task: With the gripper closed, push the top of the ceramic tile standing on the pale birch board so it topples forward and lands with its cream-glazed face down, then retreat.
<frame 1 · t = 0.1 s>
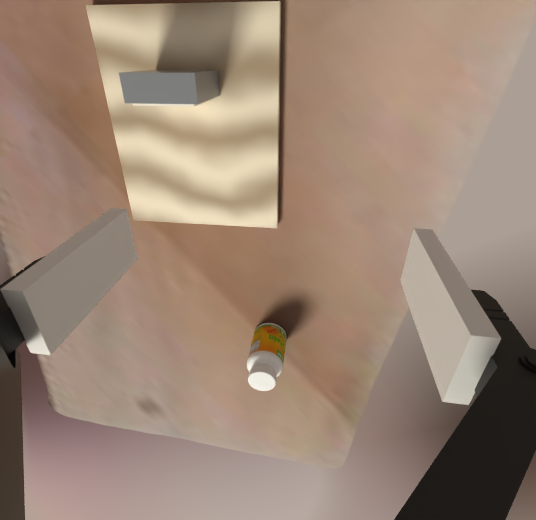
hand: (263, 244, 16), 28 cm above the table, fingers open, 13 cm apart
tile: (188, 82, 37), point 1 cm above the table, touching board
board: (196, 128, 41), on the table
supplement bottle: (270, 333, 57), on the table
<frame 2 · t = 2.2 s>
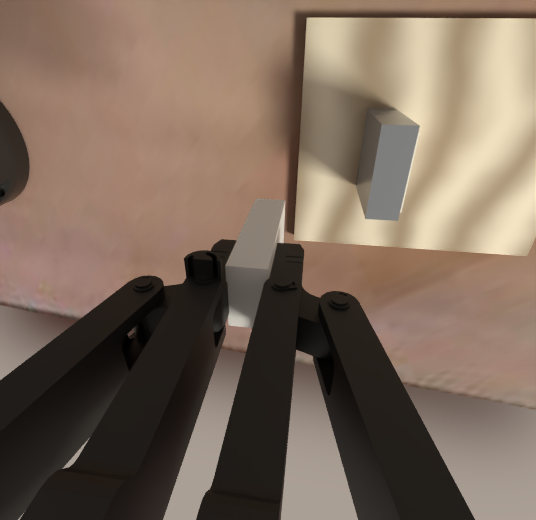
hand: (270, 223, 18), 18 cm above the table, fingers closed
tile: (374, 149, 32), point 1 cm above the table, touching board
board: (427, 148, 32), on the table
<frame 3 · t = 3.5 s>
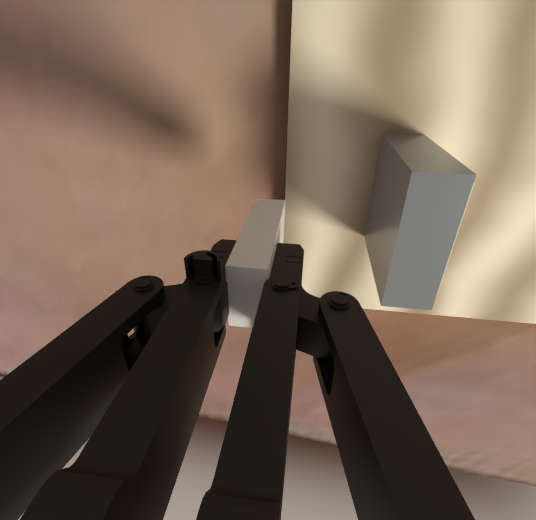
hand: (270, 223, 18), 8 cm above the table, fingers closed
tile: (391, 189, 22), point 1 cm above the table, touching board
board: (465, 187, 23), on the table
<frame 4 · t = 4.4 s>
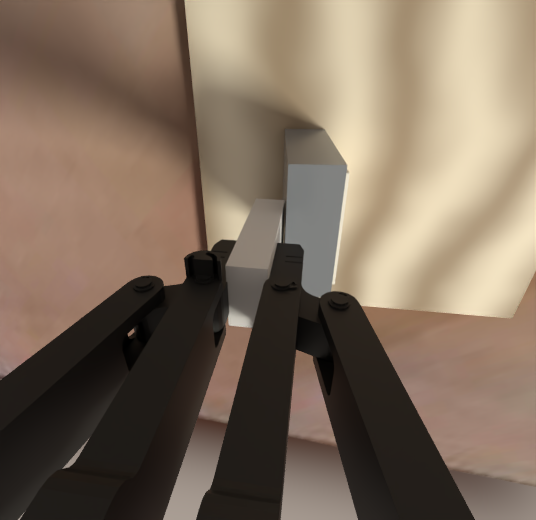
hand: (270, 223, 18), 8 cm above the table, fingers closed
tile: (301, 183, 23), point 1 cm above the table, tilted 6°, touching board, gripper
board: (374, 180, 24), on the table
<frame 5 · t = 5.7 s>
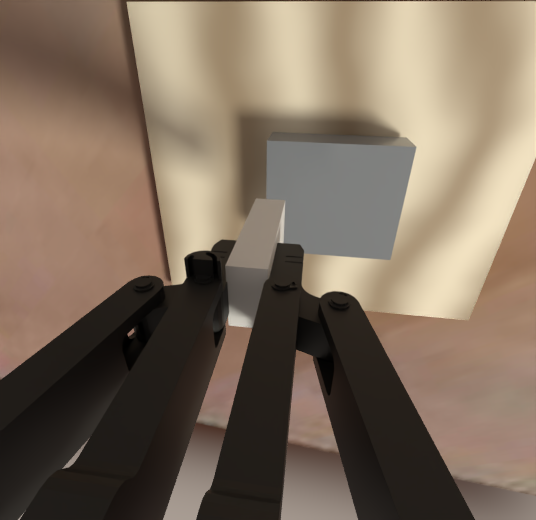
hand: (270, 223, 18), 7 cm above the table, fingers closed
tile: (268, 193, 22), point 3 cm above the table, tilted 90°, touching board
board: (326, 182, 24), on the table
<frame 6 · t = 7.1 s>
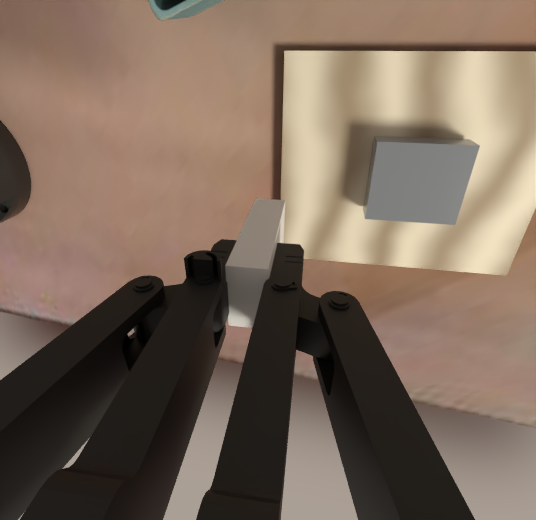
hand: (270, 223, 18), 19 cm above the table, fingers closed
tile: (369, 178, 31), point 3 cm above the table, tilted 90°, touching board
board: (405, 171, 33), on the table
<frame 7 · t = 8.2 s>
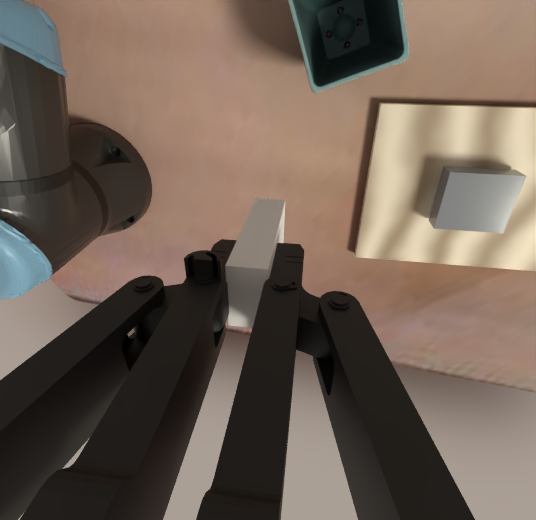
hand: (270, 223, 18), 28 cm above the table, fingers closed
tile: (438, 197, 41), point 3 cm above the table, tilted 90°, touching board
flower pot: (342, 29, 37), on the table
board: (462, 191, 43), on the table
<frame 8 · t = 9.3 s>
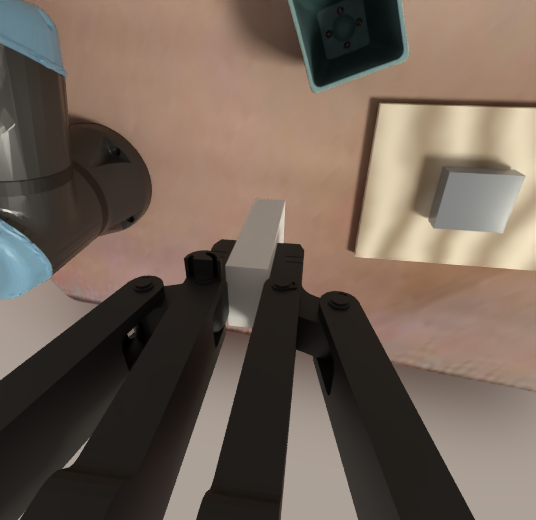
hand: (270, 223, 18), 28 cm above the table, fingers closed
tile: (438, 197, 41), point 3 cm above the table, tilted 90°, touching board
flower pot: (342, 29, 37), on the table
board: (461, 191, 43), on the table
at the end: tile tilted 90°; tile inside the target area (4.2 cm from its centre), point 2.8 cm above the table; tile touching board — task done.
